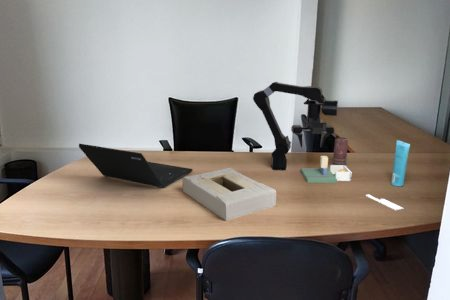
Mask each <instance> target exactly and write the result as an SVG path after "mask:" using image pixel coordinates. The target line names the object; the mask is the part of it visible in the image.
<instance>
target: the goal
mask: <svg viewBox="0 0 450 300" xmlns="http://www.w3.org/2000/svg"><path fill="white" fill-rule="evenodd" d="M341 169H343V170H345V172H338V171H339V170H341ZM329 170H330V171H331V172H332V174H333V175H334V176H335V177H336V179H337V182H339V181H340V182H351V181H352V175H353V172H352V171H351V170H350V169H349V168H348V166H347V165H333V164H330V165H329Z"/></svg>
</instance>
